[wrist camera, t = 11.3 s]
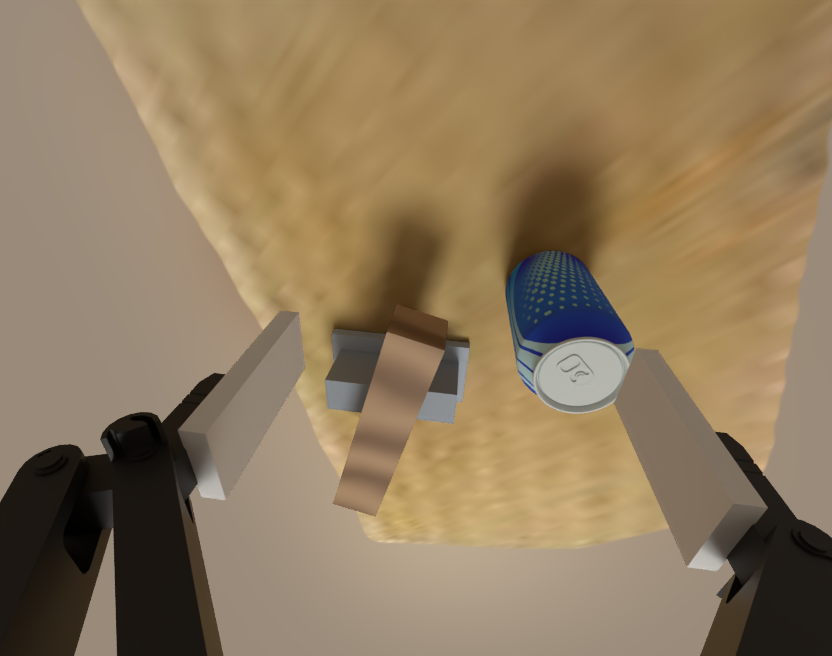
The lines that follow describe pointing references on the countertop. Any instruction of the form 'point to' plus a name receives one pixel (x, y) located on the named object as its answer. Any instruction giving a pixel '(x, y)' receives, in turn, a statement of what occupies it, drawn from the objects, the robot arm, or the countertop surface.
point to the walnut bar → (391, 406)
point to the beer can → (566, 334)
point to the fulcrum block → (358, 364)
